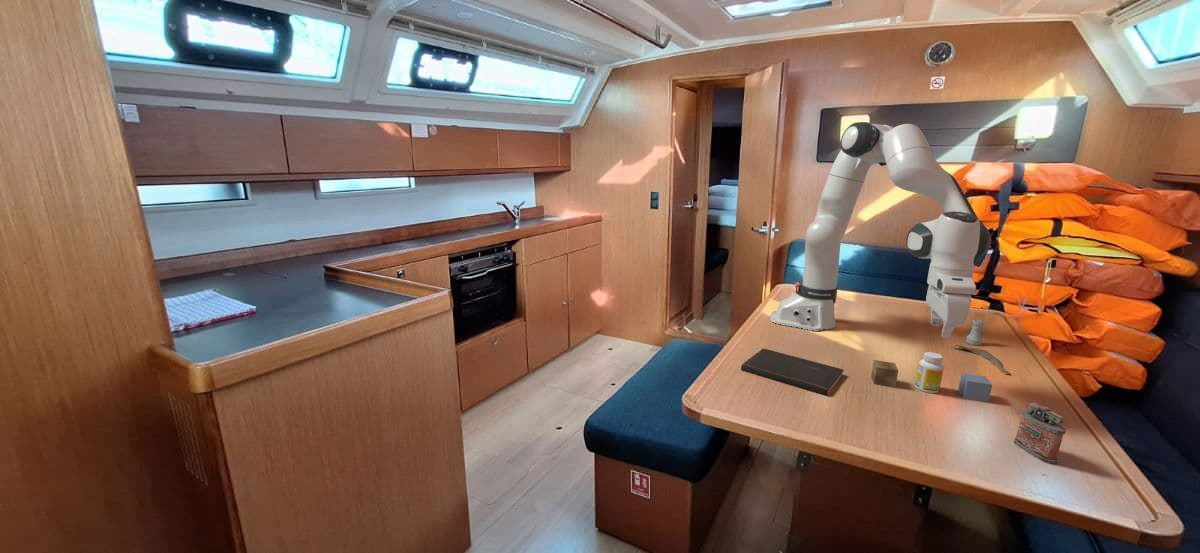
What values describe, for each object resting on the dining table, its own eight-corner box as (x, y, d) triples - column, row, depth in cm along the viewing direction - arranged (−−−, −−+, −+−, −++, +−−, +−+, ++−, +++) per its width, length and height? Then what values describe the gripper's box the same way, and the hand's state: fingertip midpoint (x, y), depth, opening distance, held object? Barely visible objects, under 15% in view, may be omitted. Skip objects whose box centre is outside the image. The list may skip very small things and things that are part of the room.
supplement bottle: (909, 386, 125) (916, 352, 123) (922, 382, 127) (928, 349, 125) (931, 395, 120) (938, 360, 118) (943, 391, 123) (950, 357, 120)
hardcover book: (762, 355, 146) (763, 348, 145) (843, 377, 132) (844, 369, 131) (740, 372, 134) (741, 364, 133) (826, 398, 120) (827, 390, 119)
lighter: (1008, 441, 101) (1019, 398, 99) (1023, 440, 101) (1034, 398, 99) (1046, 464, 93) (1058, 419, 91) (1061, 464, 93) (1074, 418, 91)
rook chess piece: (975, 341, 157) (980, 318, 155) (985, 346, 153) (990, 322, 151) (961, 340, 158) (966, 317, 156) (970, 345, 153) (975, 322, 151)
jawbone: (973, 349, 153) (975, 343, 152) (1036, 378, 133) (1038, 372, 133) (948, 348, 152) (950, 342, 151) (1008, 377, 132) (1010, 370, 132)
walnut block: (873, 384, 126) (876, 367, 125) (871, 376, 131) (873, 360, 130) (895, 387, 124) (898, 370, 123) (891, 379, 129) (894, 363, 128)
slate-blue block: (963, 399, 119) (967, 380, 118) (957, 390, 123) (961, 372, 122) (988, 403, 117) (992, 384, 116) (981, 394, 122) (985, 376, 120)
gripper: (924, 268, 127) (916, 317, 130) (945, 287, 109) (936, 343, 112) (952, 270, 125) (943, 320, 128) (979, 289, 106) (968, 347, 110)
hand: (940, 331), depth 120 cm, fingers open, 8 cm apart
